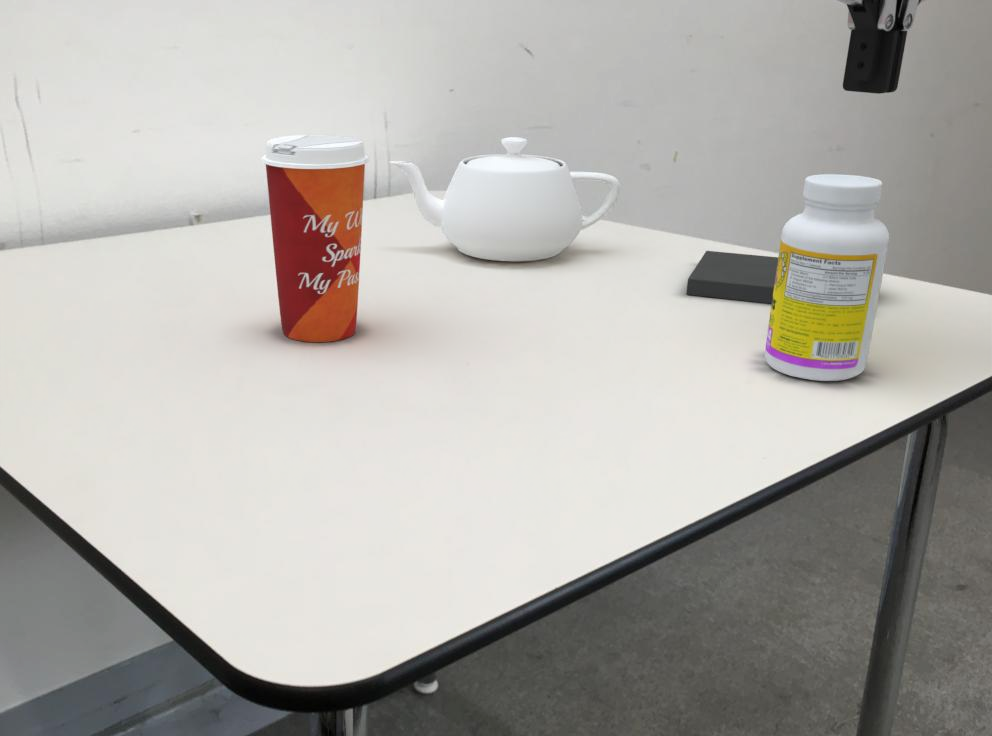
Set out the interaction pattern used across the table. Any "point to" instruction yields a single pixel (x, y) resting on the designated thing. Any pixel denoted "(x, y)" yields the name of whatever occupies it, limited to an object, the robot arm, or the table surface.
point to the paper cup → (316, 232)
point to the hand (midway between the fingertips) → (869, 90)
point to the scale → (734, 277)
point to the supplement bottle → (828, 280)
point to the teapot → (510, 204)
